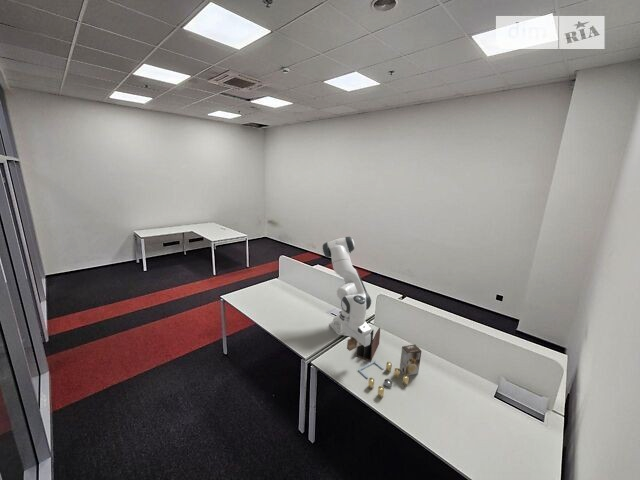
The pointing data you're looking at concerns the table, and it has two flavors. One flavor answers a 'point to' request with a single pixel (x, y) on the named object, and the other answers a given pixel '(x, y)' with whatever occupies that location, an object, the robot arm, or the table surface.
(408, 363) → the coffee box
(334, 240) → the robot arm
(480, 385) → the table surface
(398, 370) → the spacers
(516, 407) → the table surface
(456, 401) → the table surface
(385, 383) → the silver dome knob
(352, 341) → the brown flat block
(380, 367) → the bay
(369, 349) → the letter holder
